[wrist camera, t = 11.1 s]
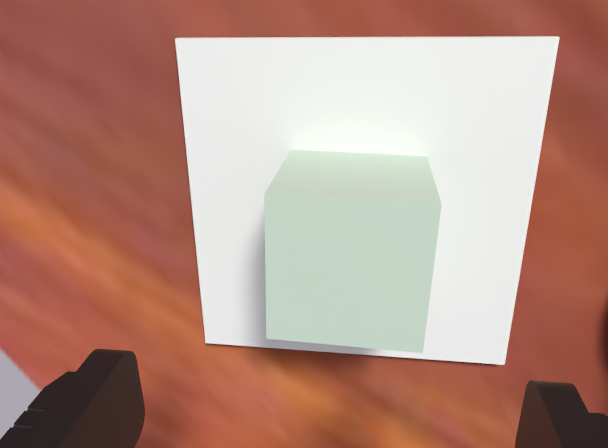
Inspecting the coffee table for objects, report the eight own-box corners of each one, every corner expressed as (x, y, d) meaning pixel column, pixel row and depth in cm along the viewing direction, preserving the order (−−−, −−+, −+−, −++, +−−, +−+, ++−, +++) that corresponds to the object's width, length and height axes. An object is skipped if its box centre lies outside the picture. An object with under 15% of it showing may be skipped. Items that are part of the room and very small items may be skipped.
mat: (208, 336, 24) (205, 343, 24) (179, 37, 19) (175, 38, 19) (502, 357, 22) (504, 364, 22) (554, 35, 17) (559, 36, 17)
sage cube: (290, 267, 22) (266, 338, 17) (291, 149, 20) (264, 193, 15) (413, 277, 21) (422, 353, 16) (427, 156, 19) (441, 204, 14)
